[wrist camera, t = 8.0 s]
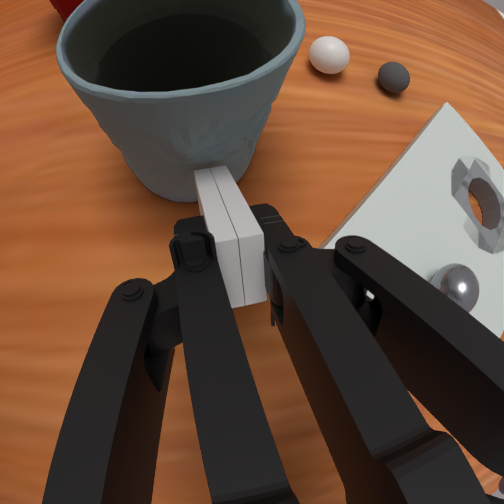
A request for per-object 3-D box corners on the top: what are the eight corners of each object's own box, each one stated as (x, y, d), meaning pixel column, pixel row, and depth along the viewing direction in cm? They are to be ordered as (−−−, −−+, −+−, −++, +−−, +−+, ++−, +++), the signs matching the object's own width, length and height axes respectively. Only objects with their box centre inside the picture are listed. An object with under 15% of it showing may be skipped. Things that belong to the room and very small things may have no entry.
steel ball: (439, 330, 18) (474, 330, 15) (410, 295, 18) (444, 290, 15) (461, 291, 19) (495, 286, 16) (435, 257, 19) (468, 246, 16)
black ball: (392, 103, 24) (407, 84, 22) (367, 81, 25) (380, 61, 22) (405, 91, 25) (420, 73, 22) (381, 70, 25) (395, 51, 22)
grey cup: (285, 179, 21) (355, 56, 10) (146, 242, 19) (74, 150, 8) (222, 77, 23) (237, -51, 11) (101, 124, 21) (48, 3, 9)
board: (442, 399, 20) (462, 404, 17) (309, 258, 21) (321, 250, 18) (523, 232, 24) (539, 226, 22) (432, 114, 25) (446, 101, 23)
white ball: (327, 87, 24) (341, 61, 20) (296, 63, 24) (306, 35, 20) (348, 72, 25) (363, 47, 21) (319, 50, 25) (330, 24, 21)
